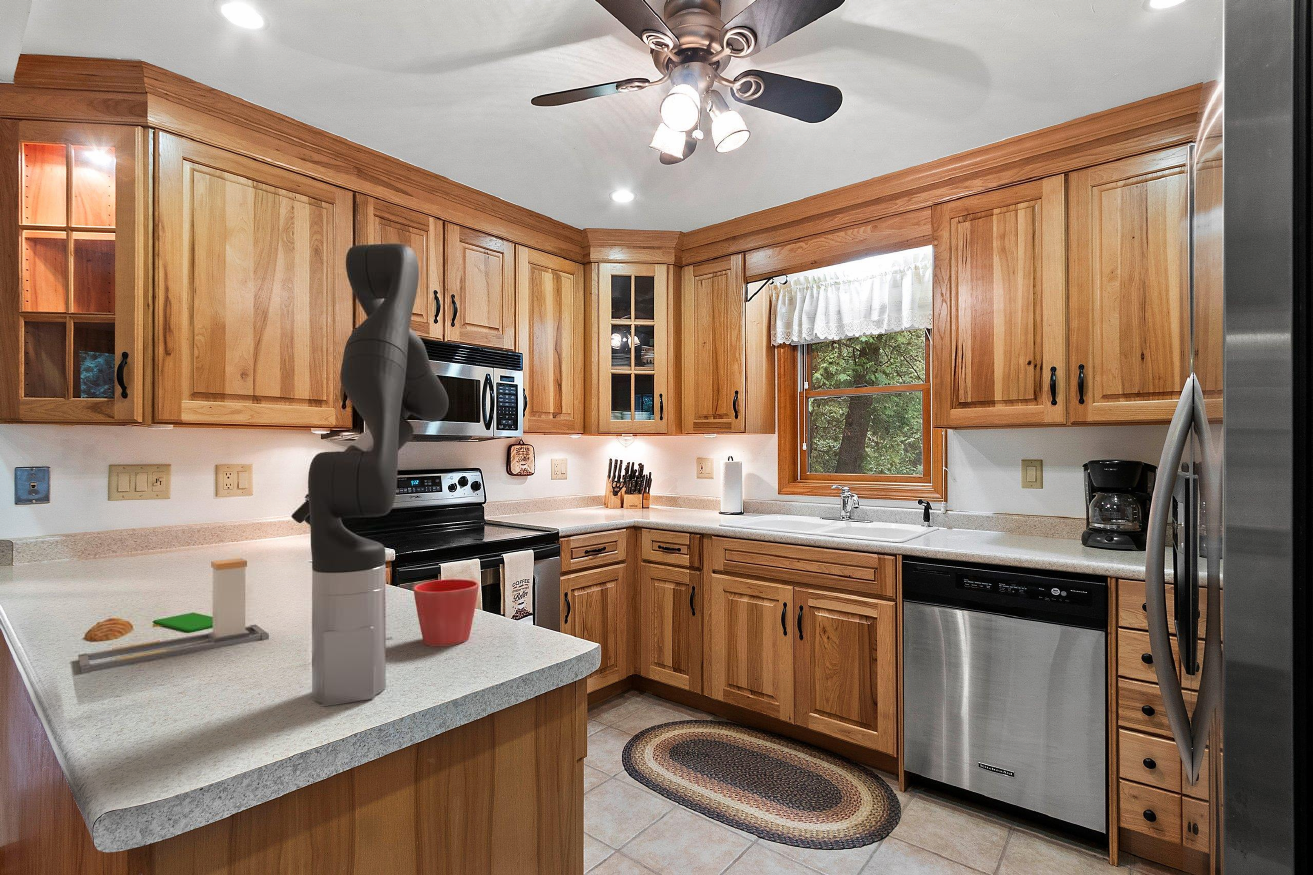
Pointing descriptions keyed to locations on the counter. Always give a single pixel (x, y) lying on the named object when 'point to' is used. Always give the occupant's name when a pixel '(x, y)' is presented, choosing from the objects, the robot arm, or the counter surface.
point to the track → (137, 658)
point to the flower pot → (446, 610)
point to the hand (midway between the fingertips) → (301, 521)
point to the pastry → (109, 630)
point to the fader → (228, 599)
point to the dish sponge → (186, 622)
